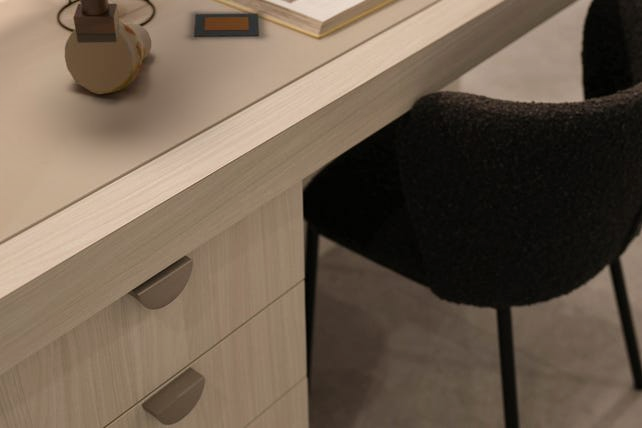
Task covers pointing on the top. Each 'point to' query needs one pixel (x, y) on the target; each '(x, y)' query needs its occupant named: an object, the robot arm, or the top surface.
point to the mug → (108, 59)
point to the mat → (226, 25)
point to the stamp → (96, 21)
